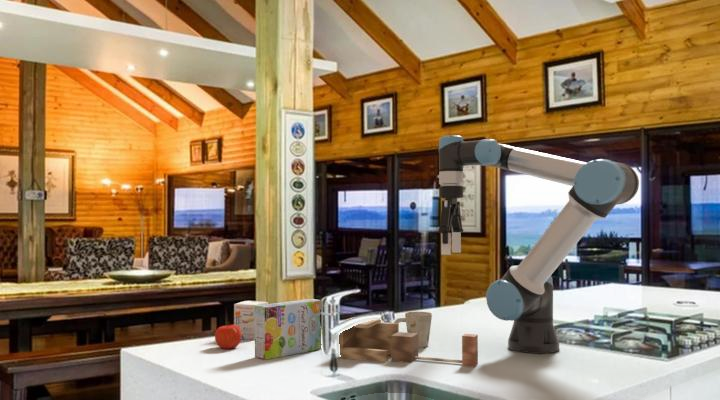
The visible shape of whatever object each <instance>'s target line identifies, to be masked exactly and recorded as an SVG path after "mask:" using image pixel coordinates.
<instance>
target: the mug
mask: <svg viewBox="0 0 720 400" xmlns="http://www.w3.org/2000/svg"><path fill="white" fill-rule="evenodd" d="M404 314H405V316H404V317H398V318H396V319H395V320H394V322H393V323H399V324H400V323H405V324H406V333H418V348H426V347H429V342H430V332H431V326H432V319H433V318H432V317H433V314H432V313H431V312H428V311H407V312H405V313H404Z"/></svg>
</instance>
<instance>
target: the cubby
mask: <svg viewBox="0 0 720 400" xmlns="http://www.w3.org/2000/svg"><path fill="white" fill-rule="evenodd" d="M352 318H355V317H354V316H353V317H349V318H346V319H345V320H349V319H352ZM376 319H377V320H371V321H368V322H365V323H361V324H358V325H356V326H353V327H352V328H350V329H348V330H345V331H343V332H342V333H340V335H339V344H340V355H341V358H340V359H344V358H345V359H346V360H356V361H357V360H358V361H368V362H369V361H370V362H378V363H387V362H388V361H389V356H391V335H393V334H395V333H397V332H400V330H399V327H400V326H399V325H400V322H399V323H394V322H383V321H382V319H381V318H376ZM380 319H381V320H380ZM345 320H343V321H345Z"/></svg>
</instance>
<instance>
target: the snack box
mask: <svg viewBox="0 0 720 400" xmlns="http://www.w3.org/2000/svg"><path fill="white" fill-rule="evenodd" d="M320 310H321V311H322V300H320V299H315V298H309V299H308V298H307V299H300V300H290V301H283V302H275V303H268V304H265V305H257V306H255V340H254V357H255V358H256V357H257V359H260V358H261V359H262V360H265V359H267V360H272V359H277V358H282V357H287V356H293V355H297V354H303V353H309V352H313V351H319V350H322V349H321V345H322V346H323V343H322V344H321V329H322V327H321V328H320ZM271 358H272V359H271ZM261 359H260V360H261Z"/></svg>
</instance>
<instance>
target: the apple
mask: <svg viewBox="0 0 720 400" xmlns="http://www.w3.org/2000/svg"><path fill="white" fill-rule="evenodd" d="M241 337H242V333H241V330H240V328H239V327H238V326H237V325H234V324H230V321H228V322H227V325H222V326H219V327H218V328H217V329H216V330H215V334H214V340H215V343H216V345H217V346H218V347H219V348H221V349H224V350H229V349H231V350H232V349H235V348H237V347H238V346H239V345H240V343H241V341H242V339H241Z"/></svg>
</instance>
